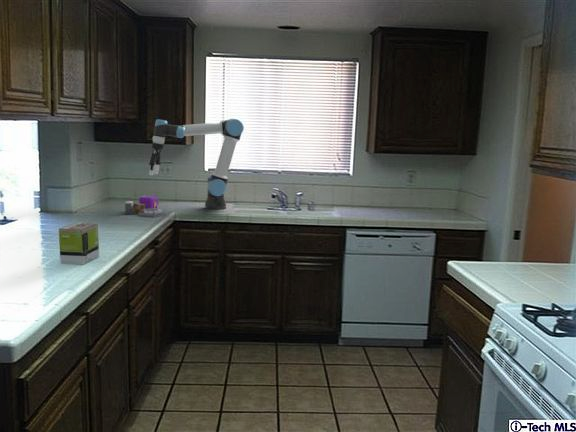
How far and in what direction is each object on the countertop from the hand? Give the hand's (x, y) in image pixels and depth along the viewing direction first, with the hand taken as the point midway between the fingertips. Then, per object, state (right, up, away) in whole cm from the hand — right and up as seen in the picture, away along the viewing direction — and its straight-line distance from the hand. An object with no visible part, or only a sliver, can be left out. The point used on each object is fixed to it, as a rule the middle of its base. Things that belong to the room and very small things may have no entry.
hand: (153, 174), depth 362 cm
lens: (-11, -26, -16) cm, 33 cm away
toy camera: (-3, -24, +3) cm, 24 cm away
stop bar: (-9, -26, -10) cm, 29 cm away
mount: (+3, -27, -17) cm, 32 cm away
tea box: (+4, -46, -138) cm, 146 cm away
